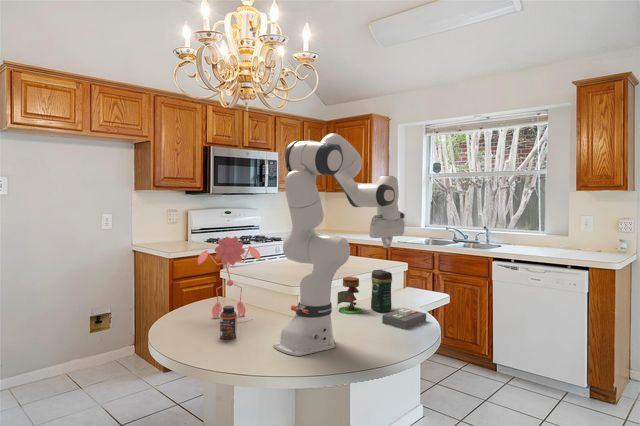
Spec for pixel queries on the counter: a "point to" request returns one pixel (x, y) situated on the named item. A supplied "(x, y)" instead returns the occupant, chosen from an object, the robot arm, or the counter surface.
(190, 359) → the counter surface
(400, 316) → the key left
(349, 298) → the red green toy sculpture
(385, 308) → the coffee jar
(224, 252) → the figurine
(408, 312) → the key mid
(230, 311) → the supplement bottle
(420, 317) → the keypad
